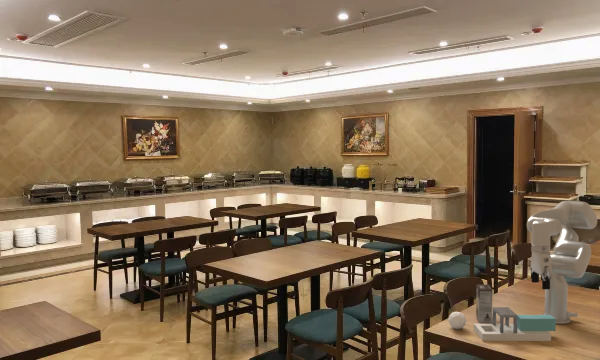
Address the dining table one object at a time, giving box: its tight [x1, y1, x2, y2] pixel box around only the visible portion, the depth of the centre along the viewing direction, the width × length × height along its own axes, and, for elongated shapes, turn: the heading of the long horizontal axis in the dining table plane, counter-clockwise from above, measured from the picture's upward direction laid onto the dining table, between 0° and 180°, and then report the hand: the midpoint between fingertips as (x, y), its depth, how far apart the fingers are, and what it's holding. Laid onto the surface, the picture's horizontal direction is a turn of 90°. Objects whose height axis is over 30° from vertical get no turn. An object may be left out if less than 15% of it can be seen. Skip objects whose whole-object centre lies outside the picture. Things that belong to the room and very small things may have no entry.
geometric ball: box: [447, 311, 467, 330], centre depth 223 cm, size 8×8×8 cm
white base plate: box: [473, 323, 552, 342], centre depth 214 cm, size 29×12×3 cm, turn 87°
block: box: [517, 314, 557, 332], centre depth 213 cm, size 15×5×6 cm, turn 87°
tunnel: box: [491, 306, 518, 333], centre depth 214 cm, size 7×10×8 cm
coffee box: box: [475, 284, 493, 324], centre depth 234 cm, size 9×6×16 cm
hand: (540, 285), depth 217 cm, fingers open, 9 cm apart
